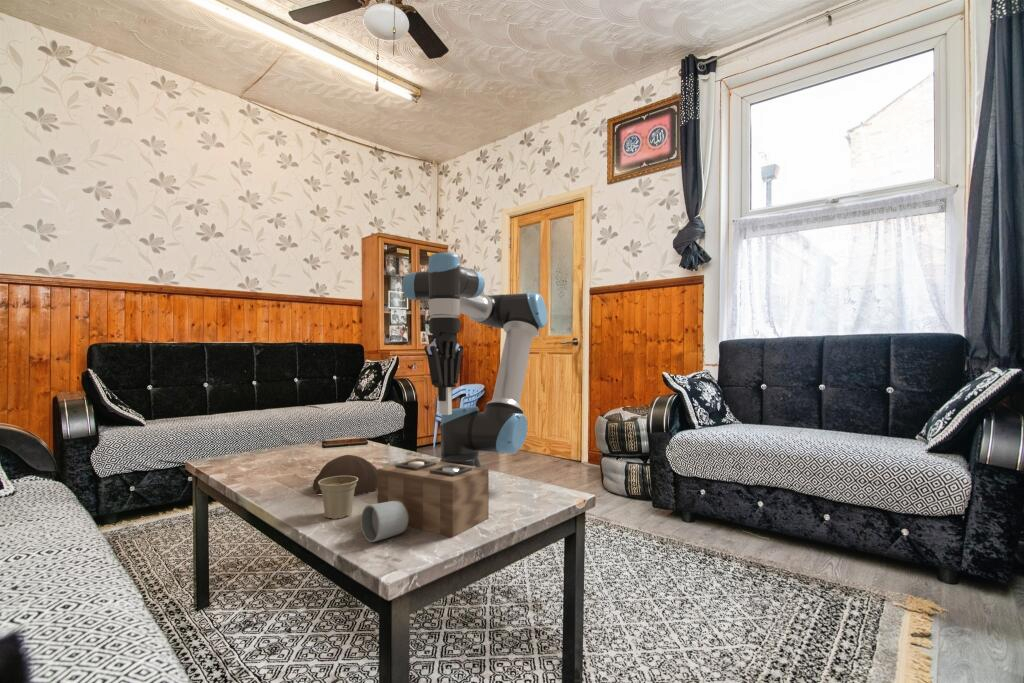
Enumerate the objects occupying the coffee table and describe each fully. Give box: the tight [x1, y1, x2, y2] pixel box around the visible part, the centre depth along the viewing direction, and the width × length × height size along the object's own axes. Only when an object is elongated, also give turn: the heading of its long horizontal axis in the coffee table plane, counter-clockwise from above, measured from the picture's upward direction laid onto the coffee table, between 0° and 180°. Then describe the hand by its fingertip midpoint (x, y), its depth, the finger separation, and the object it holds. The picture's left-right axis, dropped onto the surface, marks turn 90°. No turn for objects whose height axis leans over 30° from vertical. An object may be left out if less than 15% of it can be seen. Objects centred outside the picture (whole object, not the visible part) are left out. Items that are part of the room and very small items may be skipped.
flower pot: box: [318, 476, 358, 520], centre depth 119 cm, size 9×9×9 cm
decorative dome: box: [312, 454, 378, 497], centre depth 144 cm, size 19×20×10 cm
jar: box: [444, 455, 475, 467], centre depth 129 cm, size 9×8×12 cm
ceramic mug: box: [360, 501, 409, 543], centre depth 106 cm, size 11×8×8 cm
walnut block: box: [377, 457, 490, 538], centre depth 117 cm, size 14×23×13 cm, turn 59°
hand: (445, 414), depth 117 cm, fingers closed
